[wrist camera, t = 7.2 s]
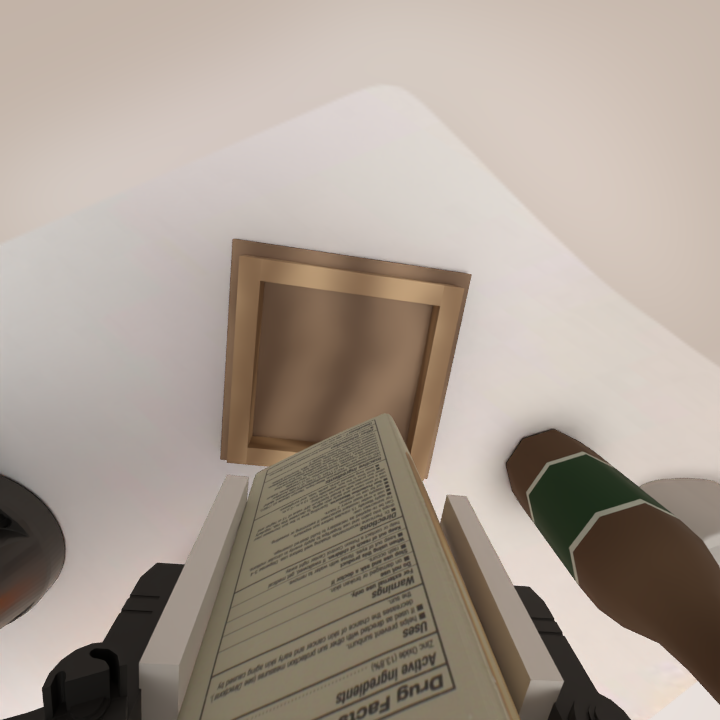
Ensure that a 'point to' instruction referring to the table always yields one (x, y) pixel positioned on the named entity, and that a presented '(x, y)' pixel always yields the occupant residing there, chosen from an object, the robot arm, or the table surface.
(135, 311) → the table surface
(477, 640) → the skincare box
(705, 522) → the lumpy-topped squat cylinder
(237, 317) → the wooden tray
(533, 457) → the beer bottle
